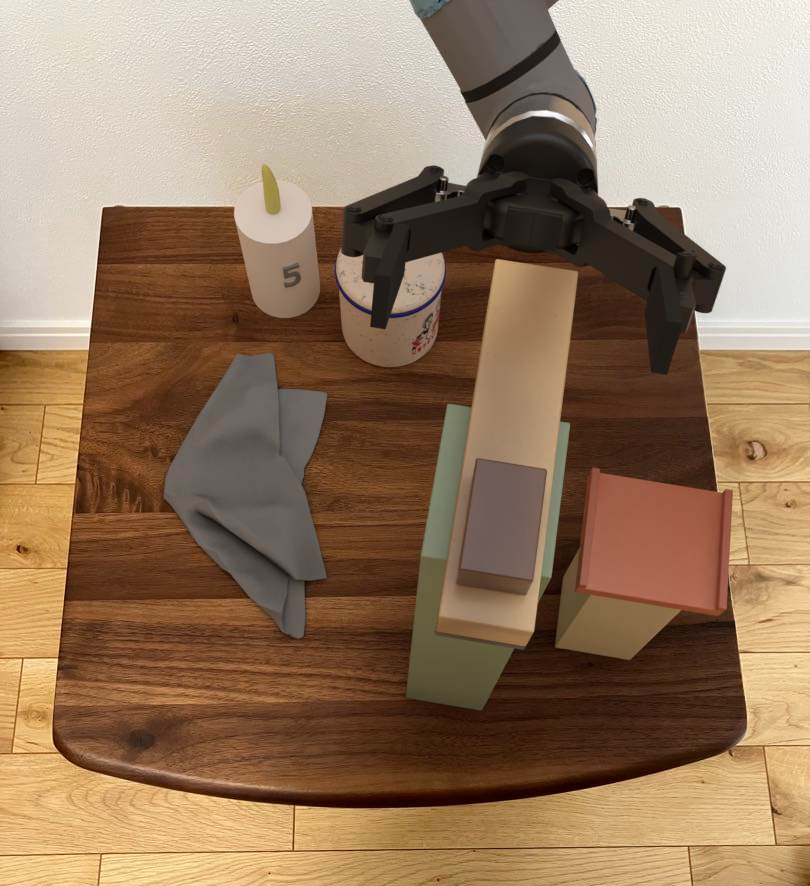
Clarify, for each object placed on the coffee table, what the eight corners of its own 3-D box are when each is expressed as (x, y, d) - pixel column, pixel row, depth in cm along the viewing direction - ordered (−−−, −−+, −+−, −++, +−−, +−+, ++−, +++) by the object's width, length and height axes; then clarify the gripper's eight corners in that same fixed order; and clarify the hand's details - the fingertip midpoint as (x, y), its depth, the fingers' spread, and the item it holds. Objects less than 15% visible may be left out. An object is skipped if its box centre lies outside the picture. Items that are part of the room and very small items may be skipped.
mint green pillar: (495, 613, 77) (570, 422, 46) (481, 711, 74) (551, 578, 43) (422, 600, 77) (447, 402, 46) (405, 697, 74) (420, 556, 44)
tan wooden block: (567, 307, 48) (587, 243, 44) (524, 650, 42) (541, 619, 37) (489, 295, 48) (500, 230, 44) (434, 635, 42) (440, 602, 38)
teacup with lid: (431, 379, 84) (438, 302, 73) (330, 362, 85) (322, 283, 74) (452, 267, 88) (462, 178, 78) (355, 252, 89) (351, 161, 78)
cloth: (178, 352, 85) (173, 338, 83) (334, 354, 85) (332, 340, 83) (150, 638, 76) (144, 631, 74) (325, 640, 76) (323, 632, 74)
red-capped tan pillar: (655, 580, 78) (733, 489, 61) (647, 675, 75) (726, 609, 58) (546, 562, 79) (592, 467, 61) (534, 656, 76) (579, 584, 58)
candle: (265, 329, 86) (241, 218, 72) (241, 272, 88) (214, 153, 74) (331, 307, 87) (320, 193, 73) (306, 251, 89) (291, 129, 75)
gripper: (714, 261, 63) (761, 435, 47) (342, 204, 64) (262, 353, 48) (752, 144, 58) (819, 292, 42) (349, 84, 59) (263, 205, 43)
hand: (522, 325), depth 45 cm, fingers open, 13 cm apart
